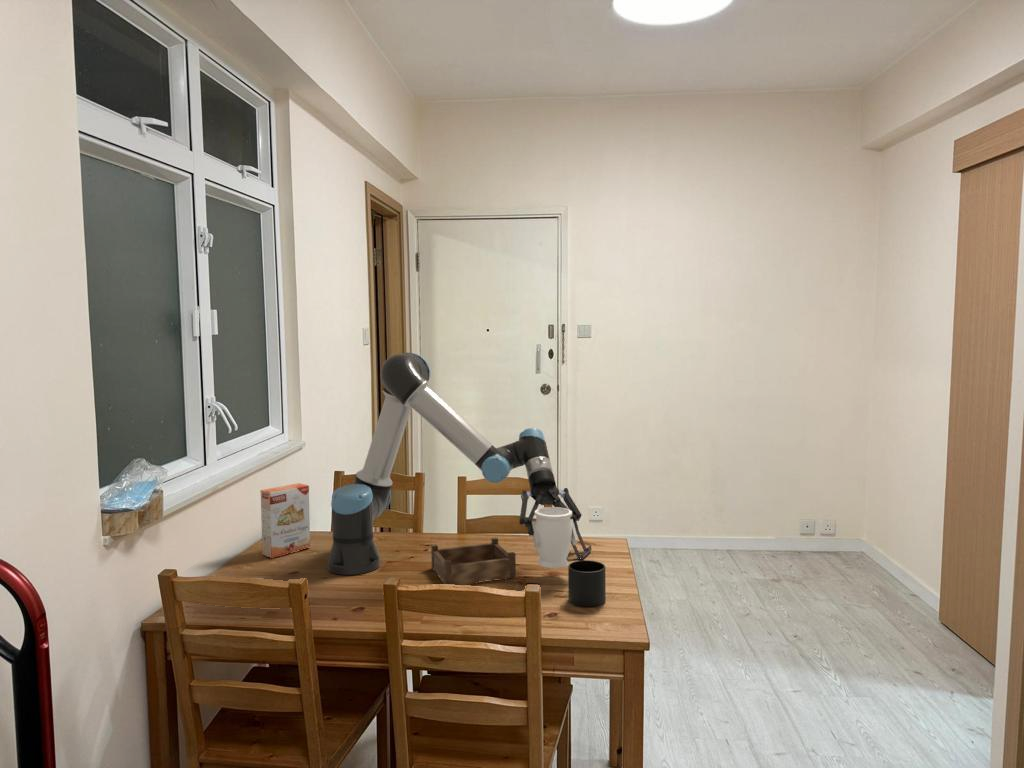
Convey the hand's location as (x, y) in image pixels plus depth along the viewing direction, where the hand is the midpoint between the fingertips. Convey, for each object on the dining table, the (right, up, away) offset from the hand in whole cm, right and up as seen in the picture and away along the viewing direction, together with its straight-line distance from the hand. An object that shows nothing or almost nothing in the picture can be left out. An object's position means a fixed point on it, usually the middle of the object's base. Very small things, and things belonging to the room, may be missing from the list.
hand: (556, 543), depth 199 cm
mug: (+7, -12, -12) cm, 18 cm away
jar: (-1, -7, +3) cm, 7 cm away
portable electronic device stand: (+7, -9, +24) cm, 27 cm away
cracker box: (-83, -10, +30) cm, 89 cm away
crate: (-23, -10, +9) cm, 27 cm away
